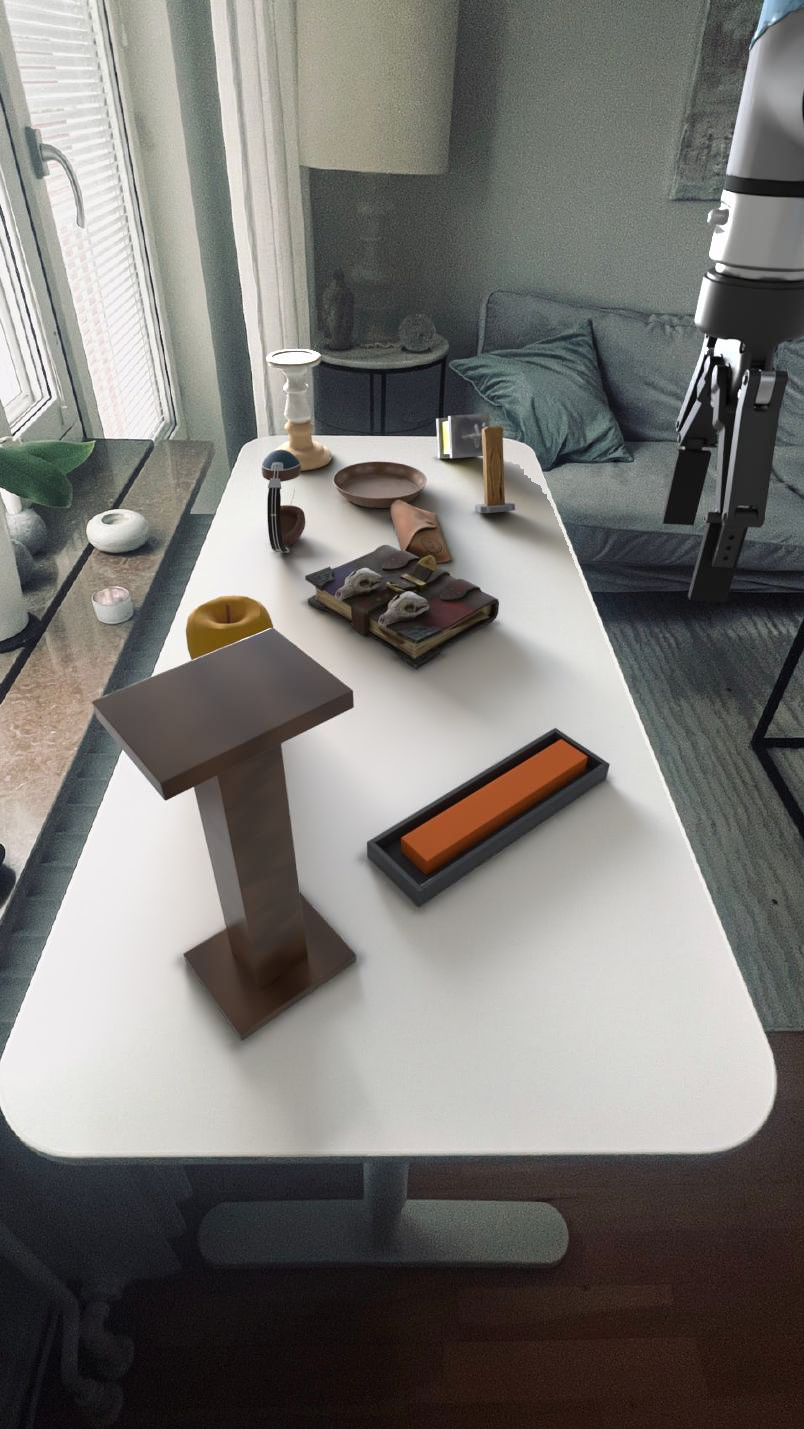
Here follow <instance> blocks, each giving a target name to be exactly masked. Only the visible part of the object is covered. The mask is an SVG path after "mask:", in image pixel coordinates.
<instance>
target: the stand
mask: <svg viewBox="0 0 804 1429" xmlns="http://www.w3.org/2000/svg"><path fill="white" fill-rule="evenodd" d="M354 700H355V699H354V690H353V689H352V688H351V687H349V686H348V685H347V684H345V683H344V682H343V681H342V680H340V679H339V678H338V677H336V676H335V675H334V674H333V673H331V671H329V670H328V669H327V668H325V667H324V666H323V665H322V664H320V663H318V661H317V660H315V659H314V658H312V657H311V656H310V655H309V654H307V653H306V652H305V651H303V650H302V649H301V648H300V647H298V646H297V645H296V644H294V642H292V641H291V640H289V638H287V637H286V636H285V635H283V633H281V632H279V631H278V630H277V629H276V628H274V627H273V628H270V629H268V630H265V631H263V632H260V633H258V634H255V635H253V636H250V637H248V638H246V639H243V640H241V641H238V642H236V643H233V644H231V645H228V646H226V647H223V648H221V649H219V650H216V651H214V652H211V653H209V654H206V655H204V656H201V657H199V658H196V659H194V660H189V661H187V662H184V663H181V664H180V665H176V666H174V667H172V668H169V669H167V670H164V671H162V672H159V673H157V674H154V675H152V676H150V677H147V678H145V679H142V680H140V681H138V682H135V683H133V684H131V685H128V686H125V687H123V688H121V689H118V690H115V691H113V692H111V693H108V694H106V695H103V696H100V697H98V698H96V699H93V700H91V704H92V708H93V710H94V714H95V717H96V719H97V720H98V721H99V723H100V725H101V726H102V727H103V728H104V729H105V730H106V731H107V733H109V735H110V737H112V739H113V740H114V741H115V743H117V745H118V746H119V747H120V748H121V750H123V752H124V754H126V756H127V757H128V758H129V760H131V761H132V763H133V764H134V765H135V767H136V768H137V770H139V772H140V773H141V774H142V775H143V777H144V778H145V779H146V780H147V781H148V782H149V783H150V785H151V786H152V788H154V789H155V791H156V792H157V793H158V794H159V796H160V797H161V798H162V799H163V800H164V801H165V802H166V801H168V800H170V799H172V798H174V797H177V796H178V795H181V794H182V793H184V792H187V791H189V790H191V789H193V791H194V795H195V800H196V803H197V807H198V811H199V816H200V820H201V825H202V829H203V833H204V838H205V843H206V846H207V851H208V856H209V859H210V864H211V869H212V873H213V878H214V882H215V886H216V891H217V895H218V899H219V904H220V908H221V911H222V912H221V913H222V916H223V920H224V925H225V928H224V929H221V930H220V931H219V932H217V933H215V934H213V935H212V936H210V937H209V938H207V939H205V940H204V941H202V942H200V943H199V944H197V945H196V946H193V947H192V948H190V949H189V950H187V951H186V952H183V958H184V962H185V963H186V964H187V966H188V967H189V968H190V970H191V971H192V973H193V974H194V976H195V977H196V978H197V980H198V981H199V983H200V984H201V985H202V987H203V988H204V990H205V991H206V993H207V994H208V995H209V997H210V999H211V1000H212V1001H213V1002H214V1004H215V1005H216V1007H217V1008H218V1010H219V1011H220V1012H221V1014H222V1015H223V1017H224V1018H225V1020H226V1021H227V1023H228V1024H229V1026H230V1027H231V1028H232V1030H233V1032H234V1033H235V1034H236V1035H237V1037H238V1038H239V1040H240V1041H243V1040H246V1039H247V1038H248V1037H249V1036H250V1035H252V1034H253V1033H256V1031H258V1030H259V1029H261V1028H262V1027H264V1026H265V1025H266V1024H268V1023H269V1022H271V1021H272V1020H274V1019H275V1018H276V1017H278V1016H279V1015H281V1014H282V1013H284V1012H285V1011H287V1010H288V1009H289V1008H291V1007H293V1006H294V1005H295V1004H296V1003H298V1002H299V1001H301V1000H302V999H304V998H306V997H307V996H308V995H309V994H311V993H313V992H314V991H315V990H317V989H319V988H320V987H322V986H323V985H325V983H327V982H329V981H330V980H331V979H333V978H334V977H336V976H337V975H339V974H340V973H342V972H343V971H344V970H346V969H347V968H348V967H350V966H352V965H353V964H354V963H356V962H357V954H356V953H355V952H354V951H353V949H352V948H351V947H349V945H348V944H347V943H346V942H345V940H343V939H342V937H341V936H340V935H339V934H338V933H337V932H336V931H335V930H334V928H333V927H332V926H331V925H330V924H329V923H328V922H327V920H326V919H325V918H324V917H323V916H322V915H321V914H320V913H319V911H317V909H316V908H315V907H314V906H313V905H312V904H311V903H310V902H309V901H308V899H307V898H306V897H305V896H304V895H303V894H302V892H301V891H300V883H299V875H298V867H297V860H296V850H295V842H294V837H293V836H294V835H293V828H292V827H293V826H292V820H291V810H290V804H289V796H288V788H287V787H288V786H287V780H286V779H287V778H286V772H285V763H284V757H283V756H284V755H283V748H282V744H283V743H285V742H287V741H289V740H291V739H293V738H295V737H298V736H299V735H302V734H303V733H306V732H308V731H310V730H311V729H313V728H316V727H317V726H319V725H321V724H323V723H325V722H328V721H330V720H331V719H333V718H335V717H338V716H340V715H342V714H344V713H346V712H348V711H350V710H352V709H354V708H355V704H354Z"/></svg>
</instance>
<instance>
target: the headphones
mask: <svg viewBox="0 0 804 1429" xmlns="http://www.w3.org/2000/svg"><path fill="white" fill-rule="evenodd" d="M301 474H302V471H301V465H300V462H299V460H298V459H297V458H296V457H295V456H294V455H293V454H292V453H291V452H289V451H287V450H283V449H279V450H275V449H274V450H272V451H271V452H270V453H268V454H267V455H266V456H265V458H264V459H263V461H262V462H261V475H262V477H263V478H264V479H265V480H267V481H268V484H267V489H268V491H267V499H266V501H267V503H266V504H267V505H266V506H267V508H266V510H267V512H266V515H267V532H268V539H269V544H270V548H271V549H272V551H273V552H275V553H279V554H281V553H282V554H285V553H290V548H289V547H288V546H290V545H293V544H294V543H296V542H297V541H298V540H299V539H300V537H301V536H302V535H303V533H304V531H305V528H306V515H305V514H306V513H305V512H304V510H303V509H302V508H301V507H299V506H296V505H292V503H293V499H294V496H295V494H293V496H292V499H291V502H290V504H283V505H282V497H281V496H282V494H281V490H282V482H283V483H284V482H288V481H291V480H295V479H296V478H298V477H300V475H301ZM293 492H295V488H294V489H293Z"/></svg>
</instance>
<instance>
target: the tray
mask: <svg viewBox="0 0 804 1429" xmlns="http://www.w3.org/2000/svg"><path fill="white" fill-rule="evenodd" d="M561 739H562V740H563V741H565V742H566V743H568V744H569V745H571V746H572V747H574V748H575V749H577V750H578V751H580V752H581V753H583V754H584V755H586V756H587V757H588V759H587V763H586V768H585V771H584V772H582V773H581V774H579V775H578V776H576V777H575V778H573V779H572V780H570V781H569V782H567V783H566V784H564V785H563V786H561V787H560V788H558V789H557V790H555V791H554V792H552V793H551V794H549V795H548V796H546V797H545V798H543V799H542V800H540V801H539V802H537V803H536V804H534V805H533V806H531V807H529V808H528V809H526V810H525V811H523V812H522V813H520V814H519V815H517V816H516V817H514V818H513V819H511V820H510V821H508V822H507V823H505V824H504V825H502V826H501V827H499V828H498V829H496V830H495V831H493V832H492V833H490V834H489V835H487V836H486V837H484V838H483V839H481V840H480V841H478V842H477V843H475V844H473V845H472V846H470V847H469V848H467V849H466V850H464V851H463V852H461V853H460V854H458V855H457V856H455V857H454V858H452V859H451V860H449V861H448V862H446V863H445V864H443V865H442V866H440V867H439V868H437V869H436V870H434V871H433V872H431V873H430V874H428V875H425V874H424V873H423V872H422V871H421V870H420V869H419V868H418V867H417V866H416V865H415V864H414V863H413V862H411V861H410V860H409V859H408V858H407V857H406V856H405V855H404V854H403V853H402V852H401V838H402V837H403V836H405V835H407V834H408V833H410V832H412V831H413V830H415V829H416V828H418V827H420V826H421V825H423V824H425V823H426V822H428V821H429V820H431V819H433V818H434V817H436V816H437V815H439V814H441V813H442V812H444V811H446V810H447V809H449V808H450V807H452V806H454V805H455V804H457V803H459V802H460V801H462V800H463V799H465V798H467V797H468V796H470V795H472V794H473V793H475V792H476V791H478V790H480V789H481V788H483V787H485V786H486V785H488V784H489V783H491V782H493V781H494V780H496V779H497V778H499V777H501V776H502V775H504V774H506V773H507V772H509V771H510V770H512V769H514V768H515V767H517V766H519V765H520V764H522V763H523V762H525V761H527V760H528V759H530V758H532V757H533V756H535V755H536V754H538V753H540V752H541V751H543V750H545V749H546V748H548V747H549V746H551V745H553V744H554V743H556V742H557V741H559V740H561ZM610 765H611V763H609V762H607V761H606V760H605V759H603V758H602V757H601V756H599V755H597V754H595V753H594V752H593V751H591V750H589V749H588V748H587V747H585V746H584V745H582V744H580V743H579V742H578V741H576V740H574V739H573V738H571V737H570V736H568V735H567V734H566V733H564V732H563V731H561V730H559V728H557V727H554V728H552V729H551V730H549V731H547V732H546V733H543V734H542V735H541V736H539V737H537V738H536V739H534V740H532V741H530V742H529V743H527V744H526V745H524V746H523V747H521V748H519V749H518V750H516V751H514V752H512V753H511V754H509V755H507V756H506V757H504V758H503V759H501V760H499V761H498V762H496V763H494V764H492V765H491V766H489V767H488V768H486V769H484V770H483V771H481V772H479V773H478V774H476V775H475V776H473V777H471V778H469V779H468V780H466V781H465V782H463V783H461V784H460V785H458V786H457V787H455V788H454V789H452V790H450V791H448V792H447V793H445V794H444V795H443V794H442V795H441V796H440V797H439V798H437V799H435V800H433V801H432V802H430V803H429V804H427V805H425V806H424V807H422V808H421V809H418V810H417V811H415V812H414V813H412V814H410V815H409V816H407V817H406V818H404V819H402V820H401V821H399V822H397V823H395V824H394V825H392V826H391V827H389V828H387V829H386V830H384V831H383V832H381V833H379V834H378V835H376V836H375V837H373V838H371V839H370V840H367V841H366V856H367V858H368V859H369V860H370V861H371V862H372V863H373V865H375V866H376V867H377V868H378V869H379V871H381V872H382V873H383V874H384V875H385V876H386V877H388V879H389V880H390V881H391V882H392V883H393V884H394V885H395V886H396V887H397V888H398V889H399V890H401V891H402V893H404V894H405V895H406V896H407V897H408V898H409V899H410V900H411V901H412V902H413V903H414V904H415V905H416V906H417V907H418V908H420V907H422V906H423V905H425V904H427V903H428V902H429V901H431V900H433V899H434V898H435V897H436V896H437V895H439V894H441V893H442V892H444V891H445V890H447V889H448V888H449V887H451V886H452V885H454V884H456V883H457V882H458V881H459V880H461V879H462V878H464V877H466V876H467V875H468V874H470V873H472V872H473V871H475V869H477V868H478V867H480V866H481V865H483V864H484V863H486V862H488V861H489V860H490V859H492V858H494V857H495V856H496V855H497V854H499V853H500V852H502V851H503V850H505V849H506V848H508V847H509V846H511V845H512V844H514V843H515V842H517V841H518V840H519V839H520V838H522V837H524V836H525V835H526V834H528V833H529V832H531V831H532V830H534V829H535V828H537V827H538V826H540V825H541V824H542V823H544V822H546V821H547V820H549V819H550V818H551V817H552V816H554V815H555V814H557V813H559V812H560V811H561V810H563V809H564V808H566V807H567V806H569V805H570V804H572V803H573V802H574V801H576V800H578V799H579V798H581V796H583V795H584V794H586V793H588V792H589V791H591V790H592V789H594V788H595V787H596V786H598V785H599V784H601V783H602V782H604V781H605V780H606V779H607V778H608V773H609V769H610Z"/></svg>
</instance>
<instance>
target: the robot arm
mask: <svg viewBox="0 0 804 1429" xmlns="http://www.w3.org/2000/svg"><path fill="white" fill-rule="evenodd" d="M757 24H758V25H757V29H756V31H755V33H754V35H753V36H752V38H751V43H750V44H749V48H748V49H749V50H748V52H749V57H748V61H747V66H746V72H745V76H744V82H743V87H742V92H741V97H740V101H739V107H738V112H737V115H736V116H737V117H736V121H735V127H734V131H733V137H732V141H731V147H730V151H729V156H728V160H727V161H728V162H727V165H726V166H727V167H726V170H725V171H726V172H725V175H726V176H725V180H724V182H723V191H722V194H721V197H720V203H721V204H720V207H717V208H712V209H710V211H709V212H708V217H707V223H708V225H709V226H712V227H714V230H713V235H712V239H711V245H710V249H709V254H708V255H709V258H710V259H711V260H712V261H713V263H716V265H715V266H712V267H711V268H709V269H708V270H707V272H705V273H704V274H703V278H702V282H701V287H700V292H699V296H698V301H697V306H696V309H695V314H694V322H693V323H694V326H695V328H696V329H697V330H698V332H700V333H701V334H704V340H703V343H702V347H701V351H700V355H699V358H698V361H697V364H696V366H695V369H694V371H693V374H692V377H691V380H690V383H689V386H688V388H687V391H686V394H685V396H684V399H683V403H682V405H681V408H680V411H679V414H678V417H677V419H676V421H675V423H674V424H675V431H676V432H677V433H678V436H677V440H676V442H677V447H681V448H677V449H676V454H675V458H674V462H673V468H672V472H671V476H670V481H669V484H668V485H669V486H668V489H667V494H666V498H665V503H664V507H663V513H662V517H661V522H662V525H677V526H678V525H679V526H680V525H681V526H695V521H696V517H697V513H698V509H699V505H700V502H701V499H702V498H701V497H702V495H703V494H702V493H703V489H704V485H705V482H706V479H707V478H706V477H707V474H708V470H709V466H710V462H711V459H712V458H711V457H712V452H711V450H709V449H717V448H718V450H717V464H716V479H715V480H716V482H715V495H714V496H715V497H714V511H708V512H707V513H705V515H704V516H703V517H702V518H703V520H702V521H703V523H704V524H706V525H705V529H704V532H703V536H702V540H701V544H700V547H699V551H698V555H697V558H696V559H697V560H696V563H695V567H694V570H693V574H692V577H691V581H690V586H689V590H688V593H687V597H688V600H689V601H700V602H715V603H716V602H718V603H727V601H728V598H729V594H730V590H731V586H732V583H733V581H734V580H733V579H734V577H735V573H736V569H737V567H738V563H739V560H740V557H741V553H742V551H743V550H742V549H743V546H744V543H745V540H746V537H747V533H748V530H749V528H755V529H757V528H759V529H760V528H762V527H763V525H764V524H765V520H766V512H767V511H766V510H767V503H768V497H769V496H768V495H769V490H770V484H771V483H770V482H771V476H772V470H773V469H772V468H773V463H774V462H773V461H774V456H775V455H774V454H775V447H776V440H777V434H778V426H779V420H780V412H781V407H782V404H783V400H784V396H785V392H786V387H787V385H788V382H789V373H788V371H787V370H776V369H775V366H773V363H774V357H775V350H776V348H777V347H778V346H779V345H781V344H783V343H785V342H787V343H791V342H795V341H798V340H800V339H802V338H803V337H804V0H763V5H762V8H761V13H760V16H759V20H758V23H757ZM718 434H719V435H718ZM704 448H709V449H704Z"/></svg>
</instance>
